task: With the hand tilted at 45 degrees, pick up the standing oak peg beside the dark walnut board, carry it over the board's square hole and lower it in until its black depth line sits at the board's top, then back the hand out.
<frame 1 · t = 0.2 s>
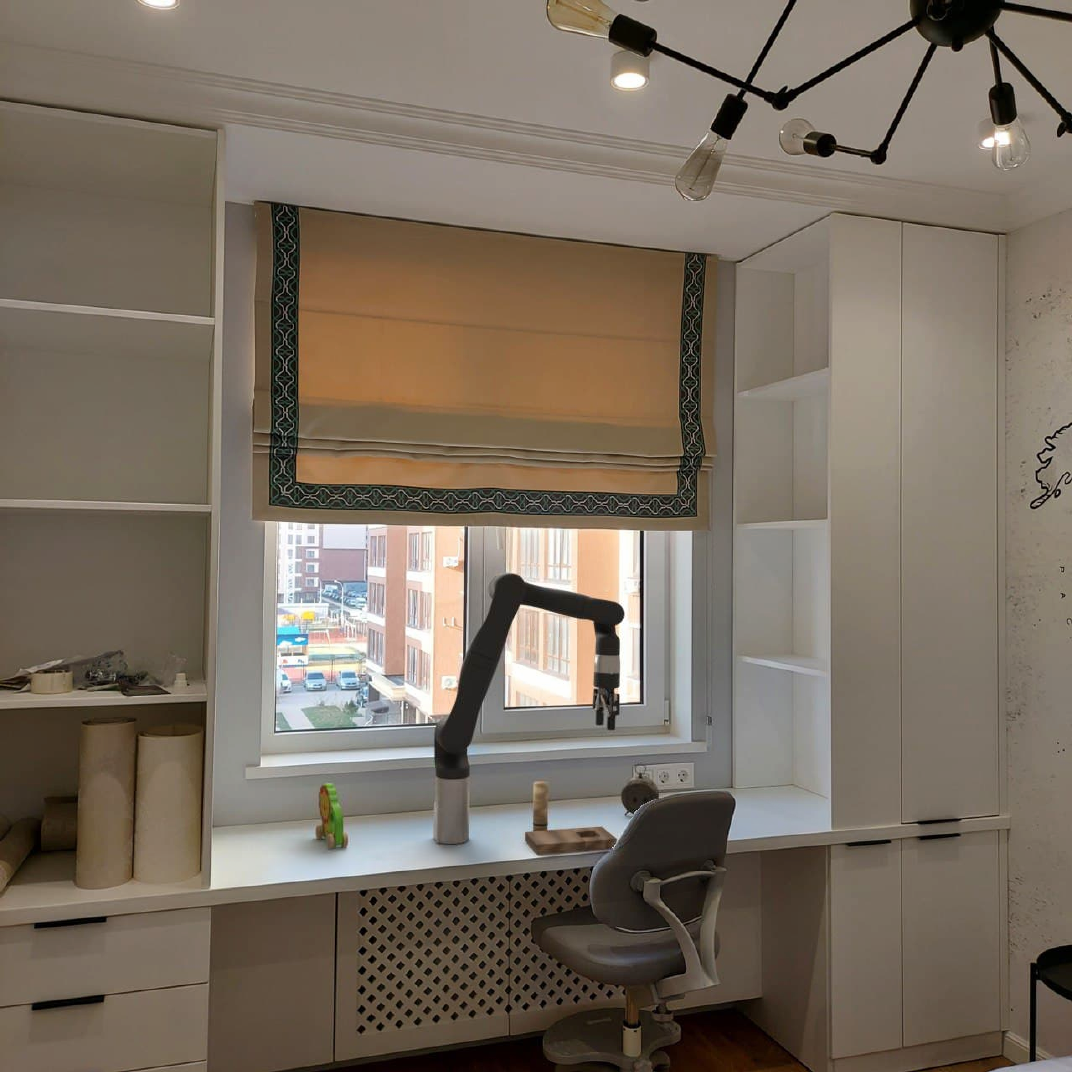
hand: (605, 727, 269), 29 cm above the table, tool pointing down, fingers open, 8 cm apart
toy lion: (330, 842, 253), on the table
walnut board: (570, 844, 252), on the table
alarm clock: (639, 818, 279), on the table
oak peg: (540, 833, 262), on the table
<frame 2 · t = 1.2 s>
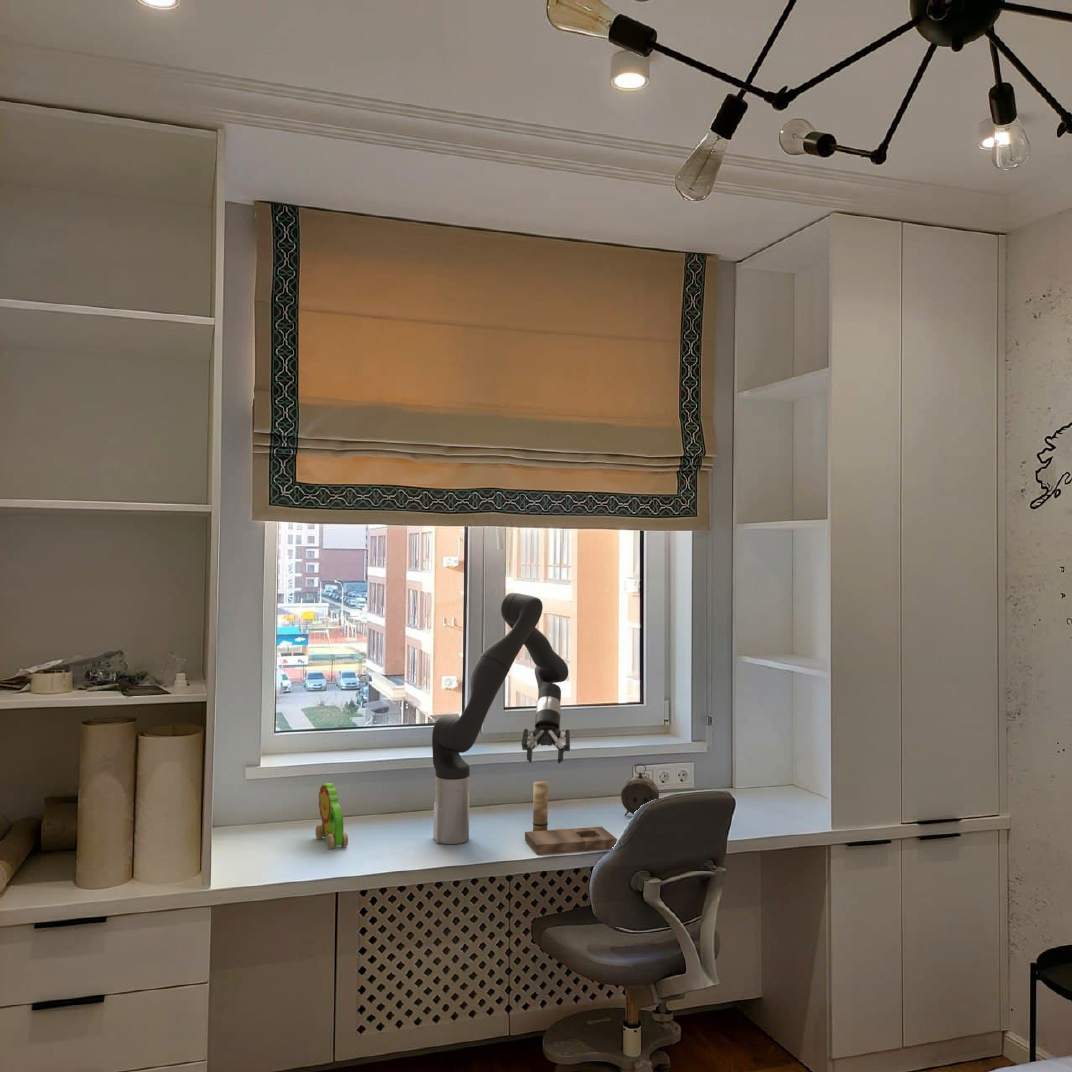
hand: (544, 761, 274), 18 cm above the table, tool tilted 45°, fingers open, 8 cm apart
nothing on the table moved.
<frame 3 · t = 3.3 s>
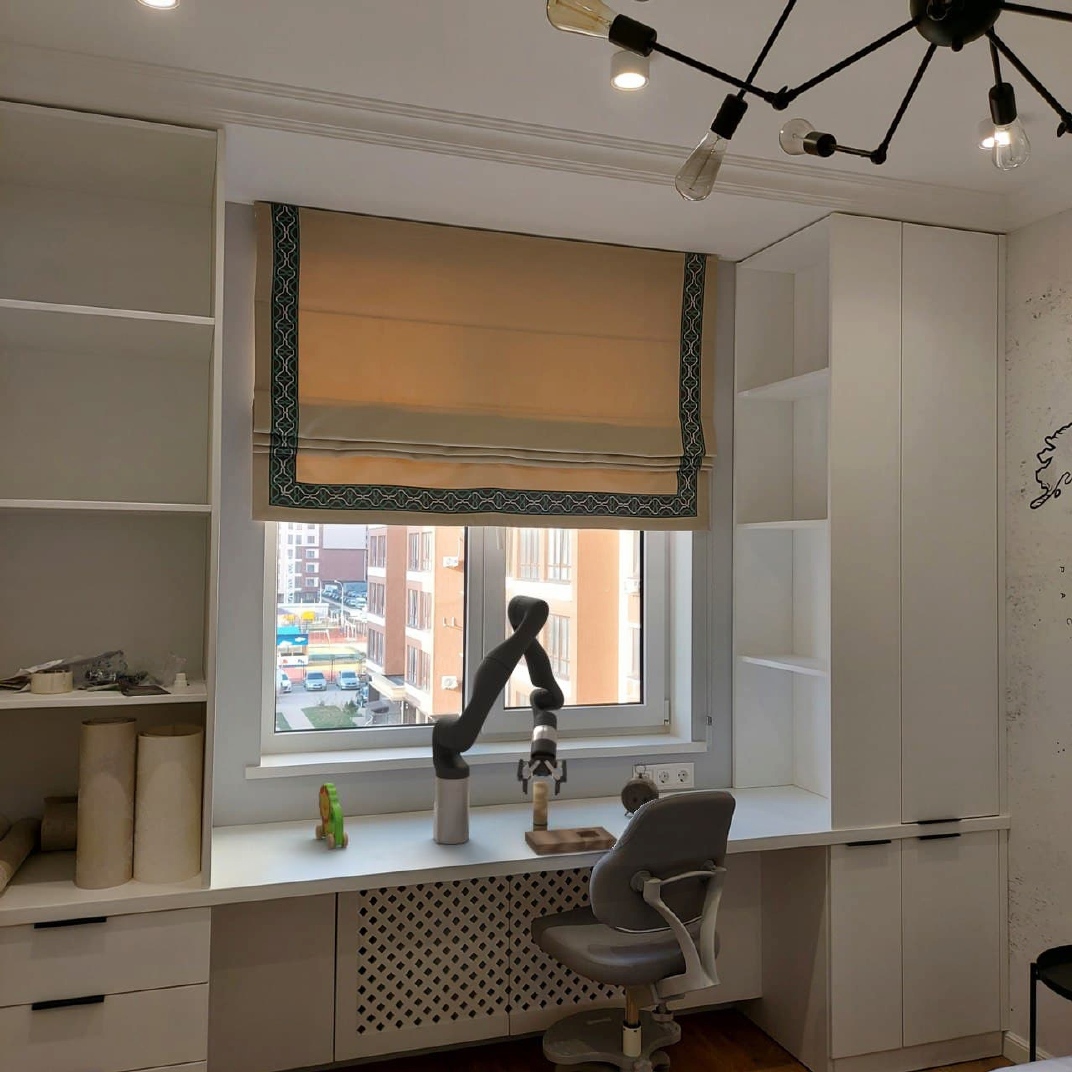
hand: (541, 793, 265), 10 cm above the table, tool tilted 45°, fingers open, 8 cm apart
nothing on the table moved.
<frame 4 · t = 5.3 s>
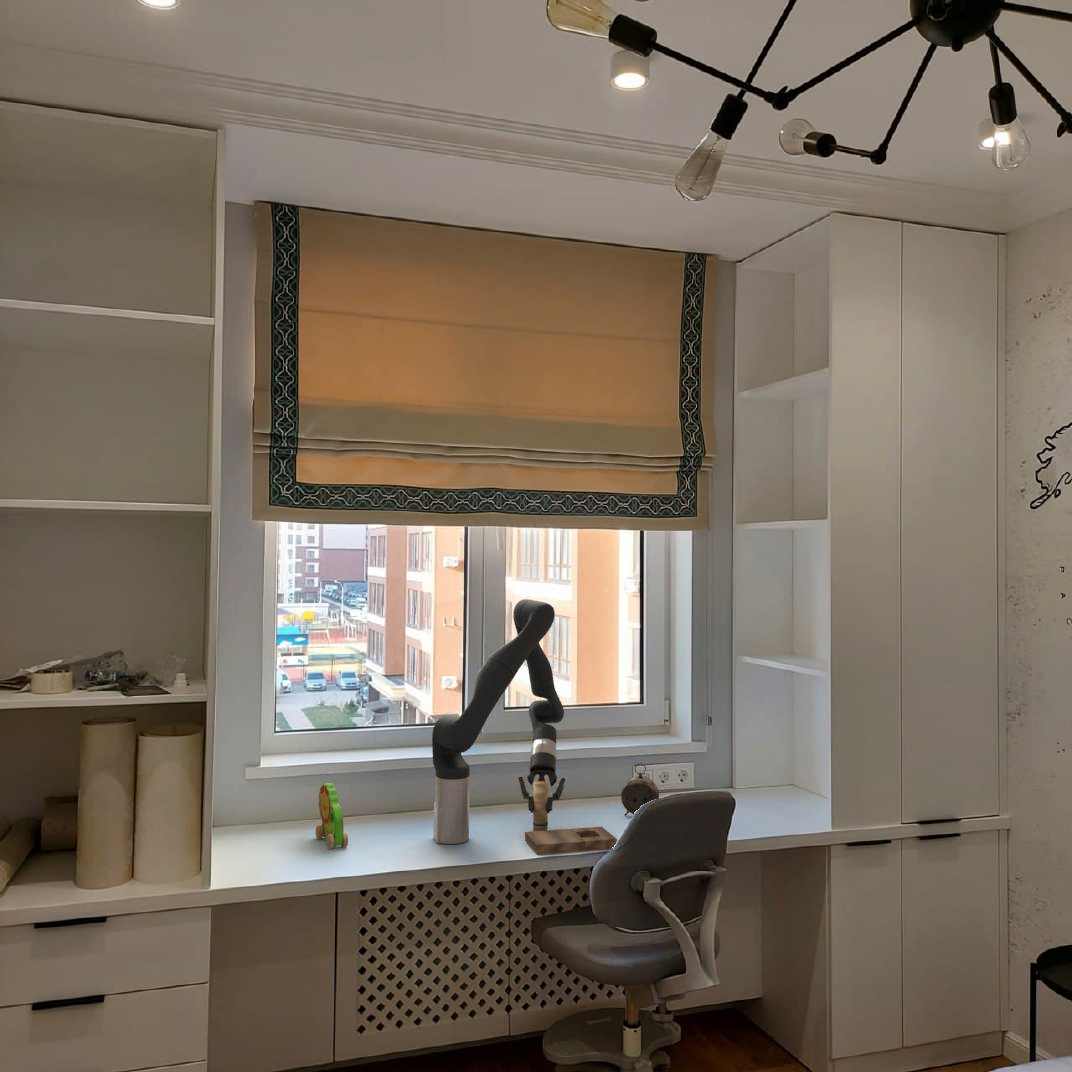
hand: (540, 811, 261), 7 cm above the table, tool tilted 45°, fingers closed on oak peg, 4 cm apart
oak peg: (540, 833, 262), on the table, touching gripper
everything else where it was.
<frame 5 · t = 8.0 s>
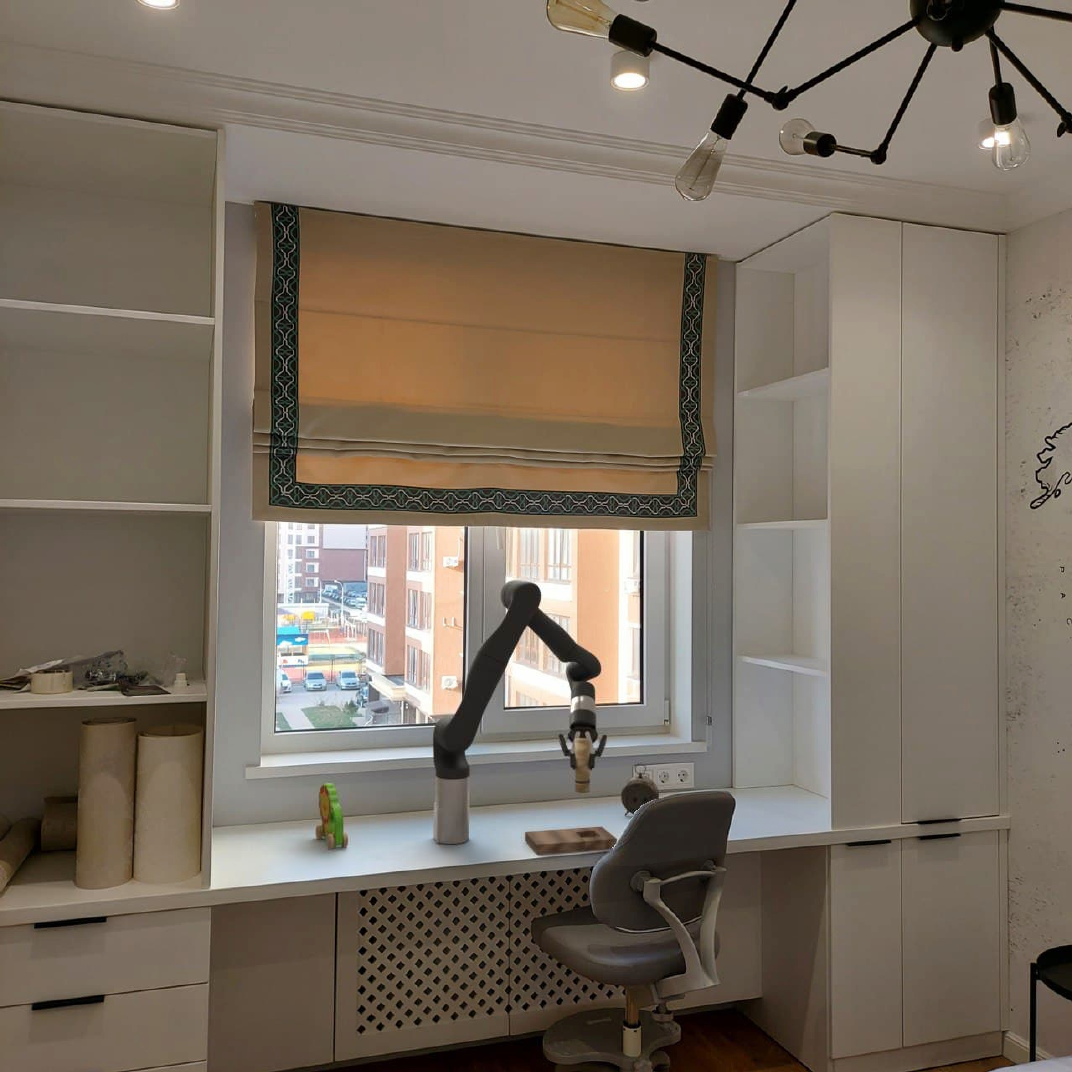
hand: (582, 768, 254), 20 cm above the table, tool tilted 45°, fingers closed on oak peg, 4 cm apart
oak peg: (582, 791, 256), point 14 cm above the table, touching gripper
everything else where it was.
when the fingers open (7 cm above the table, at t = 10.8 s): oak peg stays where it is, resting in walnut board.
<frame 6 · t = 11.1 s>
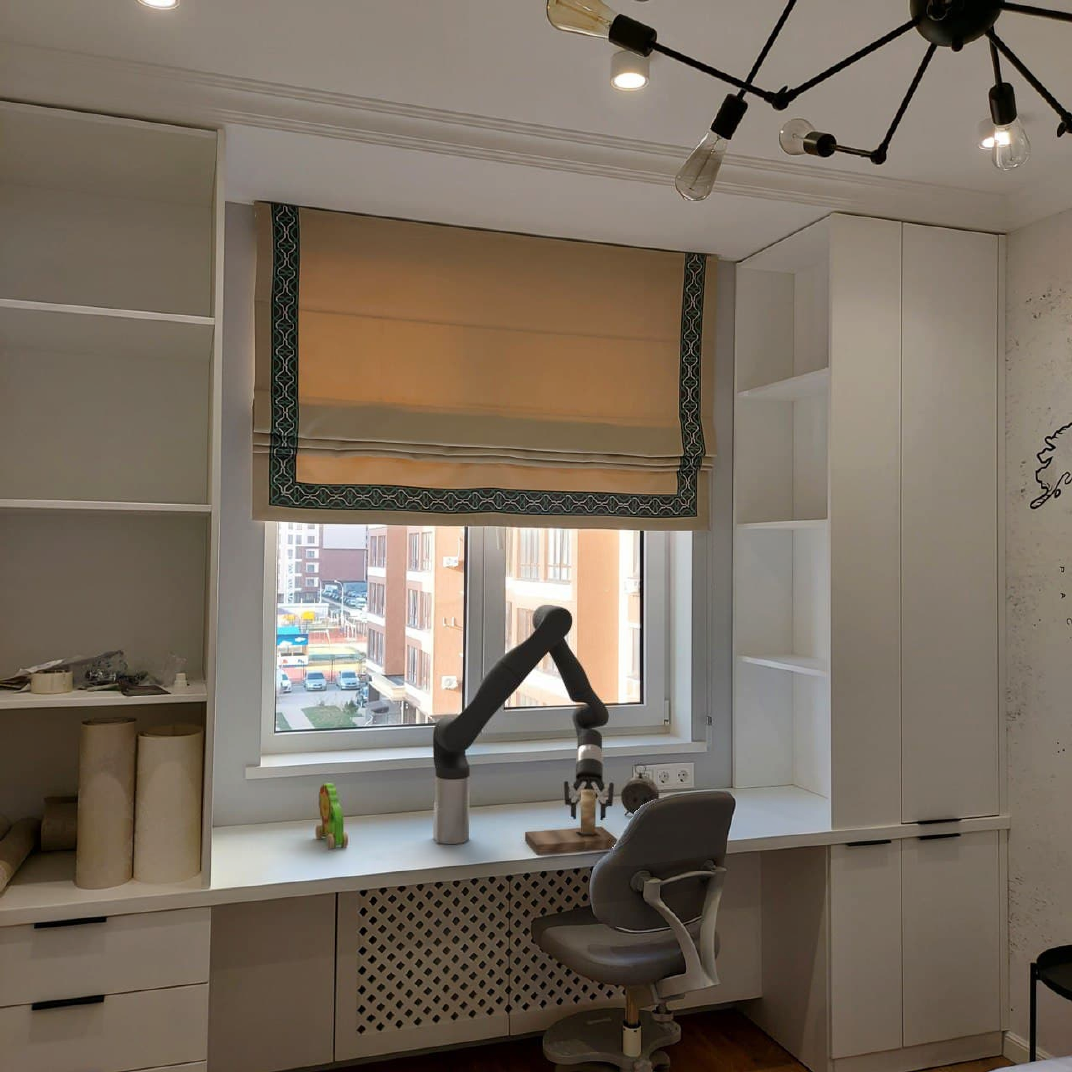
hand: (588, 818, 252), 7 cm above the table, tool tilted 45°, fingers open, 6 cm apart
oak peg: (587, 843, 254), resting in walnut board
everything else where it was.
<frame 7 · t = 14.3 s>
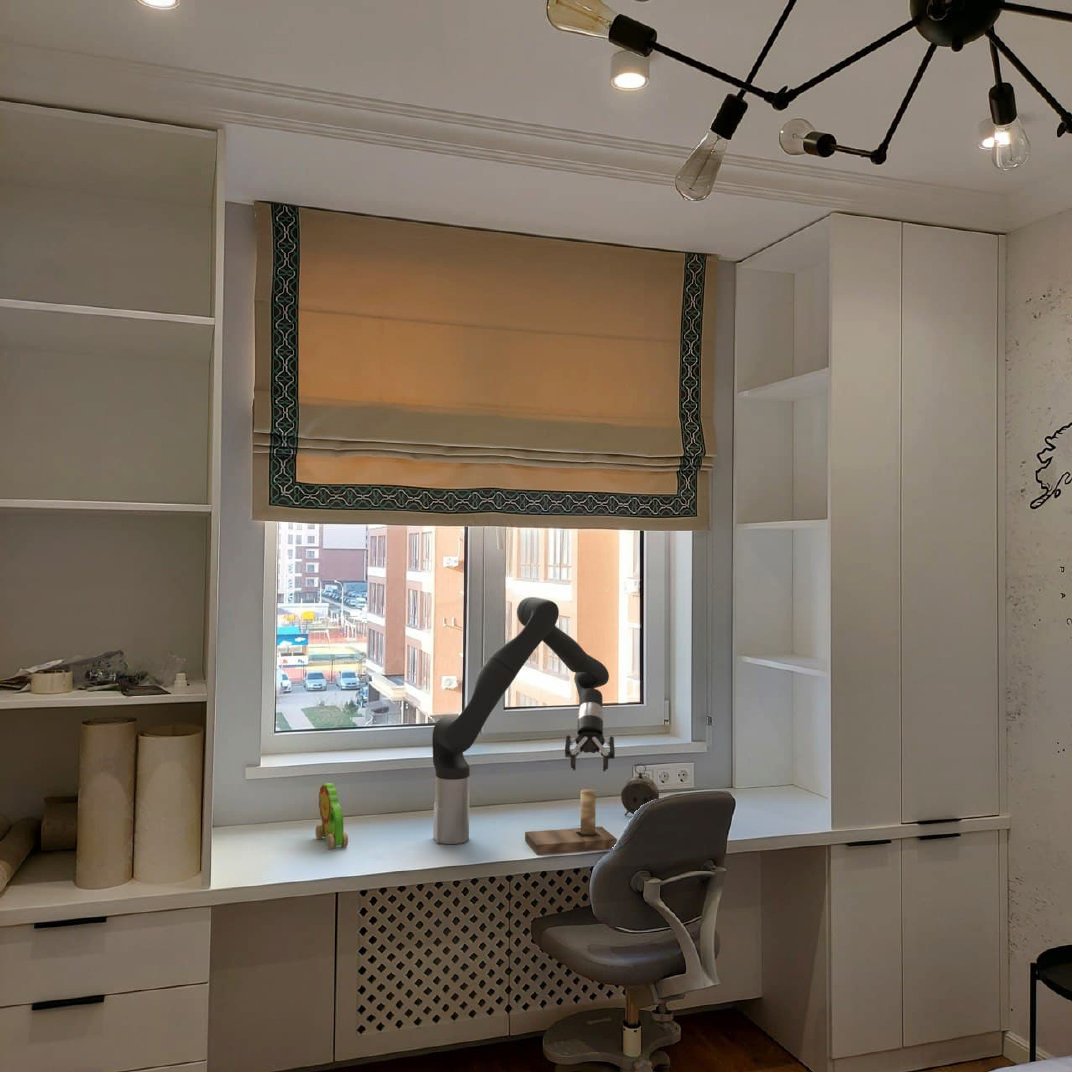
hand: (589, 769, 265), 17 cm above the table, tool tilted 45°, fingers open, 8 cm apart
nothing on the table moved.
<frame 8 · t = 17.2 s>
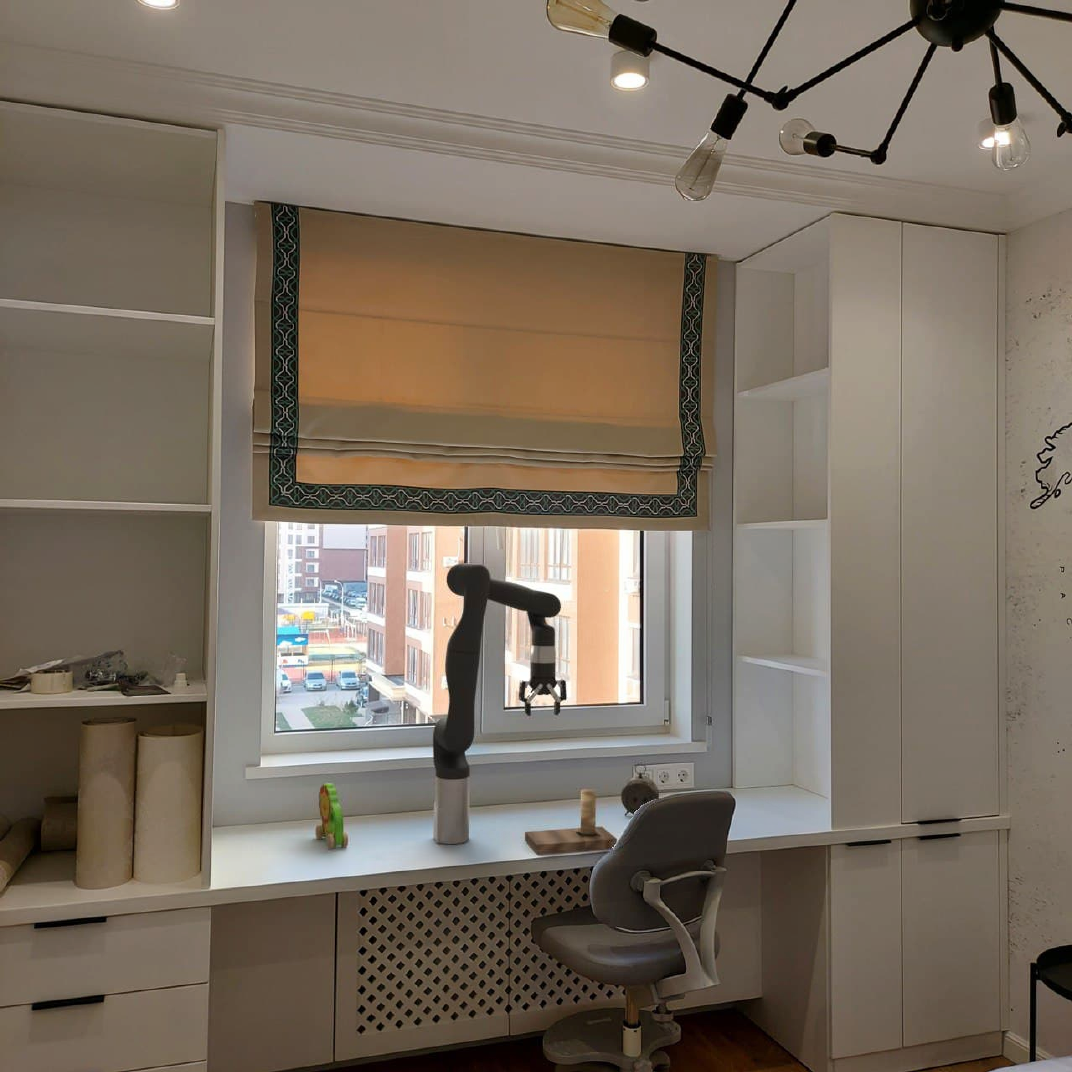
hand: (542, 715, 280), 30 cm above the table, tool pointing down, fingers open, 8 cm apart
nothing on the table moved.
at the end: oak peg 0.1 cm from the target spot on the walnut board, point 0.0 cm above the walnut board's base; oak peg tilted 1°; the gripper is holding nothing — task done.
